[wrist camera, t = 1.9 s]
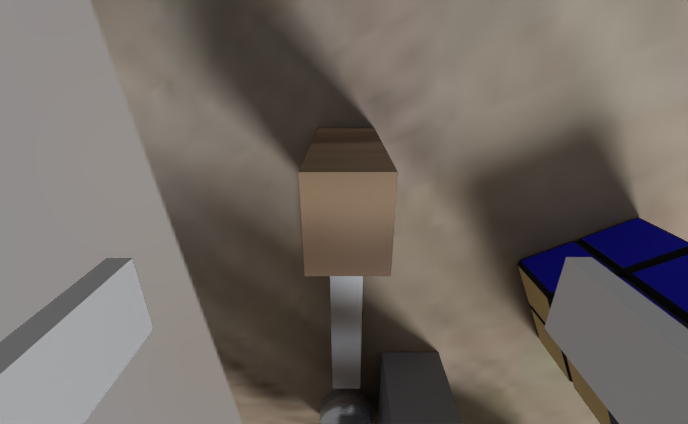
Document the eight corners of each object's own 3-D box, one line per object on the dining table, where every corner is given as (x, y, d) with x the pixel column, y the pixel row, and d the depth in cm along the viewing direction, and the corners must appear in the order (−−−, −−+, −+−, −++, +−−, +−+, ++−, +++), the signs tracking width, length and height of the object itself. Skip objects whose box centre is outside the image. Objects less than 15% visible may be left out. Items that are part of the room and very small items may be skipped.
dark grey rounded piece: (319, 388, 34) (317, 416, 31) (372, 388, 34) (374, 416, 31) (321, 423, 36) (319, 451, 33) (370, 422, 36) (372, 451, 33)
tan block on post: (318, 127, 23) (298, 172, 13) (374, 127, 23) (397, 172, 13) (325, 361, 32) (317, 493, 22) (366, 361, 32) (376, 493, 22)
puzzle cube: (639, 214, 26) (800, 292, 17) (649, 305, 30) (787, 410, 20) (514, 259, 28) (598, 353, 19) (539, 340, 31) (619, 452, 22)
